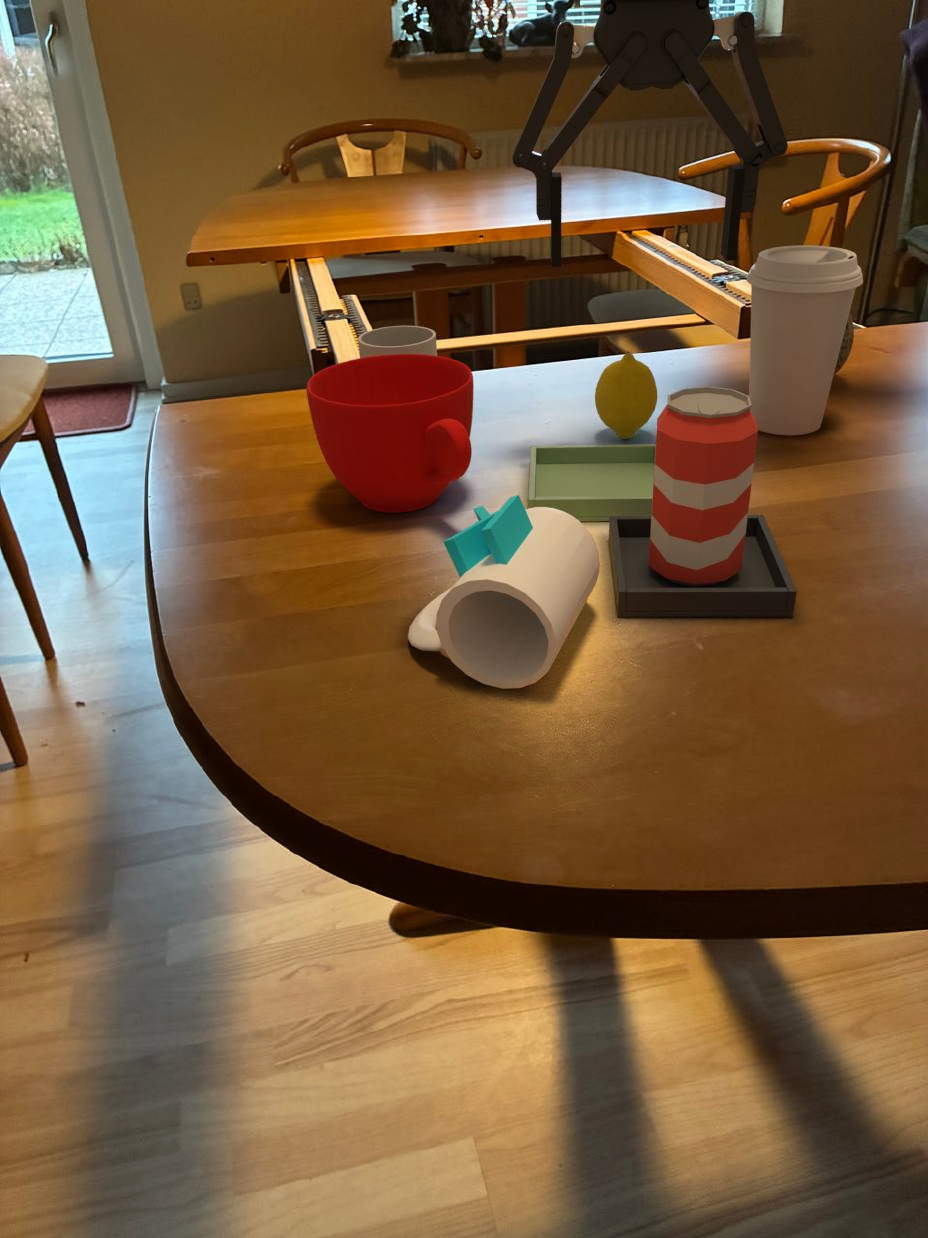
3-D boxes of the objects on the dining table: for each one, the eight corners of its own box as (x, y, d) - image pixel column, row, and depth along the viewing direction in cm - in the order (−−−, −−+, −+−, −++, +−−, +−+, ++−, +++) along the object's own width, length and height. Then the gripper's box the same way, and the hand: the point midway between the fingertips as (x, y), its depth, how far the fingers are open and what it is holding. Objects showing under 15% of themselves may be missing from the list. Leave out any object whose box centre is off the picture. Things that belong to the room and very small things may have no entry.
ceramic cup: (395, 567, 68) (382, 434, 63) (296, 491, 80) (278, 375, 75) (538, 517, 74) (538, 392, 69) (426, 453, 86) (418, 343, 81)
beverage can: (647, 590, 63) (658, 417, 56) (649, 546, 68) (659, 383, 62) (742, 595, 62) (764, 418, 55) (736, 549, 67) (755, 383, 61)
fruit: (630, 422, 91) (634, 338, 86) (667, 440, 86) (673, 352, 82) (582, 434, 88) (583, 349, 84) (617, 453, 84) (621, 364, 80)
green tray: (658, 464, 82) (659, 443, 81) (672, 520, 72) (674, 497, 71) (530, 466, 83) (530, 445, 82) (528, 521, 73) (528, 499, 72)
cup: (446, 415, 95) (441, 325, 90) (430, 453, 86) (423, 356, 82) (376, 415, 96) (367, 326, 91) (353, 453, 87) (342, 356, 83)
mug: (574, 450, 59) (510, 534, 49) (626, 576, 62) (575, 677, 53) (421, 499, 65) (338, 582, 56) (475, 612, 68) (406, 708, 59)
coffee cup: (794, 450, 83) (820, 271, 75) (710, 422, 90) (725, 255, 82) (860, 423, 88) (891, 252, 80) (775, 398, 94) (796, 239, 86)
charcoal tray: (760, 537, 69) (763, 514, 68) (792, 617, 60) (797, 591, 59) (608, 539, 70) (609, 515, 69) (617, 617, 61) (618, 591, 60)
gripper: (831, -74, 67) (790, 245, 78) (477, -53, 68) (486, 256, 80) (863, -85, 60) (813, 264, 71) (472, -61, 62) (483, 276, 73)
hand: (641, 260), depth 76 cm, fingers open, 13 cm apart
